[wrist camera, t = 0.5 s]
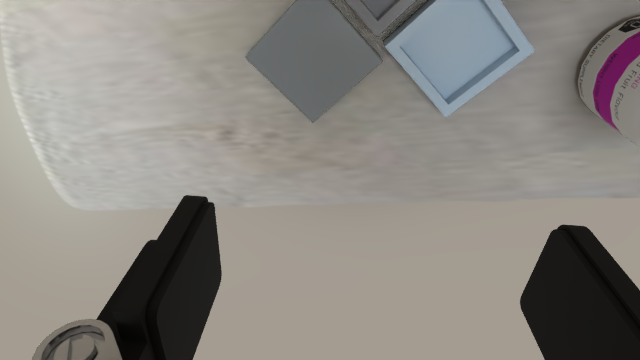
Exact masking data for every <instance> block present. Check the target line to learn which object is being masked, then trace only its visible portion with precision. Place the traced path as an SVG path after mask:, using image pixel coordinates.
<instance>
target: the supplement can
mask: <svg viewBox="0 0 640 360" xmlns="http://www.w3.org/2000/svg"><path fill="white" fill-rule="evenodd" d="M578 87H579V93H580V98H581V99H582V101H583V102H584V103H585V105H586V106H587V107H588V108H589V110H591V111H592V112H593V113H595V114H596V115H597V116H599V117H600V118H601V119H603V120H604V121H605V122H606V123H608V124H609V125H610V126H612V127H613V128H614V129H616V130H617V131H618V132H620V133H621V134H622V135H623V136H625V137H626V138H627V139H629V140H630V141H631V142H633V143H634V144H635V145H637V146H638V147H639V148H640V16H639V17H635V18H632V19H629V20H627V21H625V22H624V23H622V24H620V25H618V26H617V27H615V28H613V29H612V30H610V31H608V32H607V33H606V34H605V35H604V36H603V37H602V38H601V39H600V40H599V41H598V42H597V43H596V44H595V45H594V46H593V47H592V49H591V50H590V52H589V54H588V55H587V57H586V59H585V60H584V62H583V64H582V66H581V70H580V75H579V79H578Z"/></svg>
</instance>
